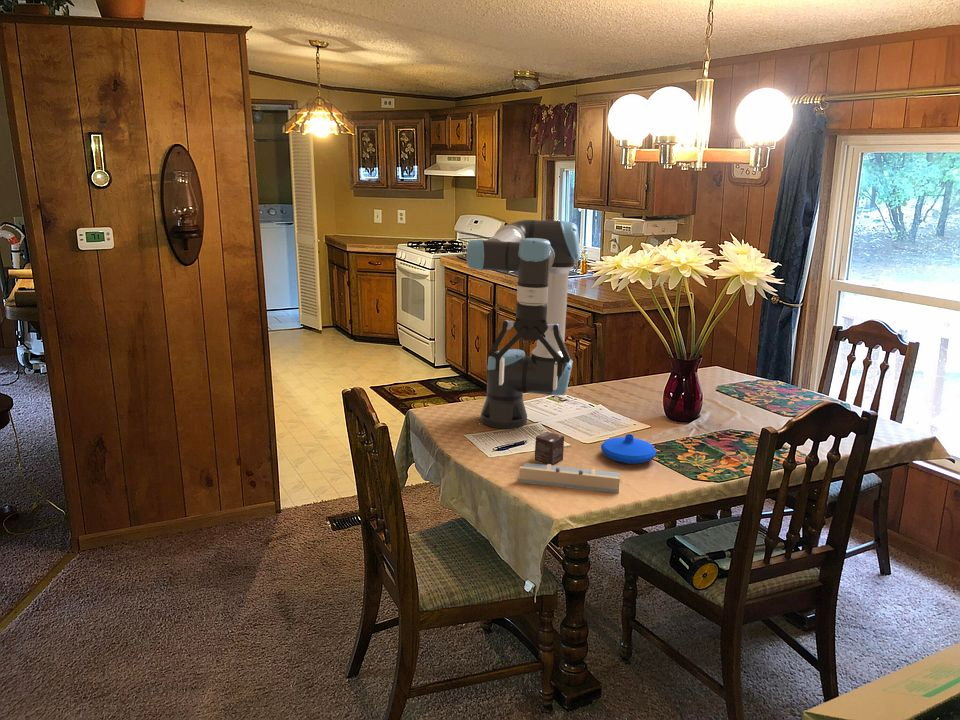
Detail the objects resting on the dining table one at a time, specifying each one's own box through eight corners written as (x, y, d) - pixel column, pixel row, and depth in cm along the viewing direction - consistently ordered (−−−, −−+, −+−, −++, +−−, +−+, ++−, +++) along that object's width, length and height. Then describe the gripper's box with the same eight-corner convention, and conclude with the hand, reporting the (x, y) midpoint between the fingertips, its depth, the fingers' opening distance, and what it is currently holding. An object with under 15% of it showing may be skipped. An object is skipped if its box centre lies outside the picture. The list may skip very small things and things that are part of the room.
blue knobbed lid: (602, 467, 209) (604, 444, 208) (597, 446, 225) (599, 424, 223) (659, 470, 209) (662, 447, 207) (650, 449, 224) (652, 427, 222)
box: (546, 454, 217) (547, 430, 215) (563, 460, 214) (565, 436, 212) (533, 460, 213) (535, 436, 211) (551, 466, 209) (552, 441, 207)
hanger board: (524, 466, 208) (525, 450, 207) (619, 476, 204) (620, 459, 202) (518, 482, 198) (519, 465, 197) (618, 493, 193) (620, 476, 192)
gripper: (478, 302, 182) (476, 385, 187) (582, 309, 177) (576, 394, 182) (484, 296, 189) (482, 377, 194) (584, 303, 184) (578, 386, 190)
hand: (527, 386), depth 188 cm, fingers open, 13 cm apart
